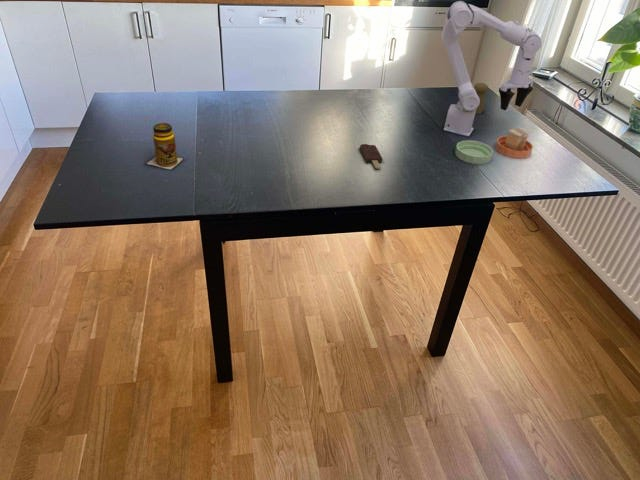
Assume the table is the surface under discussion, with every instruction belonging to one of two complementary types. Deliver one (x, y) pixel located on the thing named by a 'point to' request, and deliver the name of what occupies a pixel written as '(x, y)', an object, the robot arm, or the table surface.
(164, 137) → the condiment
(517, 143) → the box
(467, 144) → the celadon bowl
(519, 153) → the terracotta bowl
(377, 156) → the ice cream bar
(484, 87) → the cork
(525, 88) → the robot arm
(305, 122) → the table surface
